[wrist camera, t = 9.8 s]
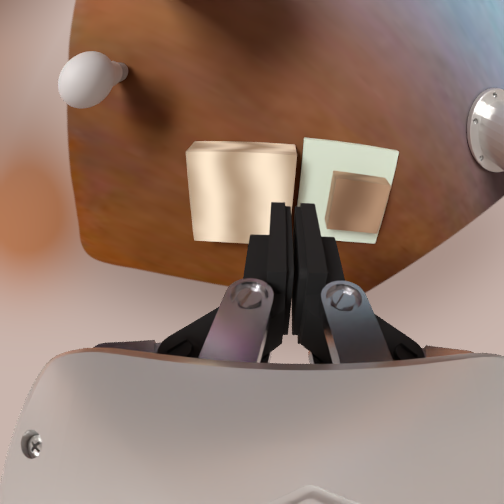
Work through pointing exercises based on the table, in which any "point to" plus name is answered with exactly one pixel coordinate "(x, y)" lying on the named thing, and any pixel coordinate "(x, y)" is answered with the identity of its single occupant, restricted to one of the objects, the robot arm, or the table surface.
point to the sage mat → (346, 160)
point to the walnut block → (356, 202)
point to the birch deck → (237, 187)
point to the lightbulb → (89, 79)
